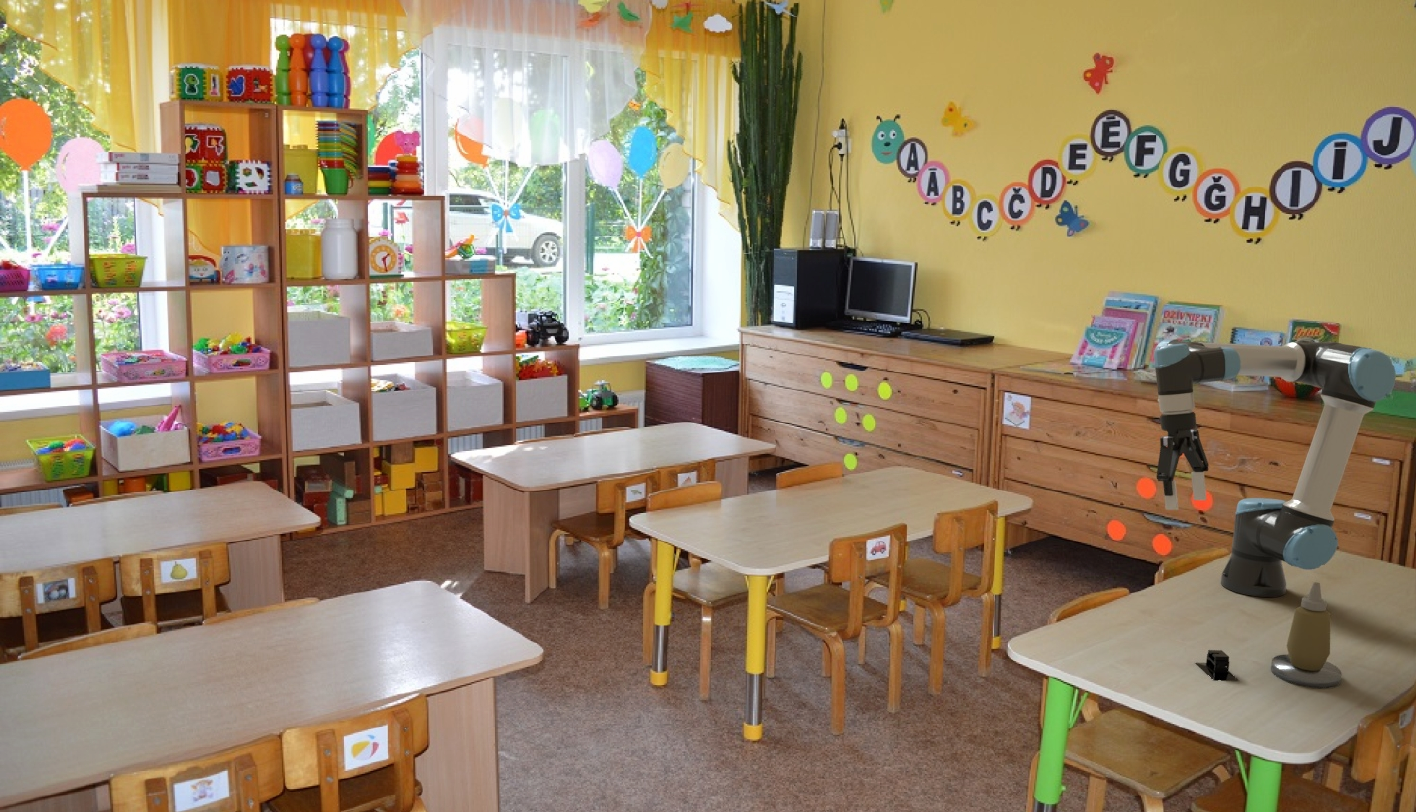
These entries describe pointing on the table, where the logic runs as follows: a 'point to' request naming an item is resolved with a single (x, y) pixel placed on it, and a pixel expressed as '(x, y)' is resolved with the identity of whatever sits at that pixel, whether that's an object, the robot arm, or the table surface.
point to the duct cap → (1306, 674)
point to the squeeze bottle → (1310, 632)
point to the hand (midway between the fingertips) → (1186, 505)
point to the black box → (1217, 666)
